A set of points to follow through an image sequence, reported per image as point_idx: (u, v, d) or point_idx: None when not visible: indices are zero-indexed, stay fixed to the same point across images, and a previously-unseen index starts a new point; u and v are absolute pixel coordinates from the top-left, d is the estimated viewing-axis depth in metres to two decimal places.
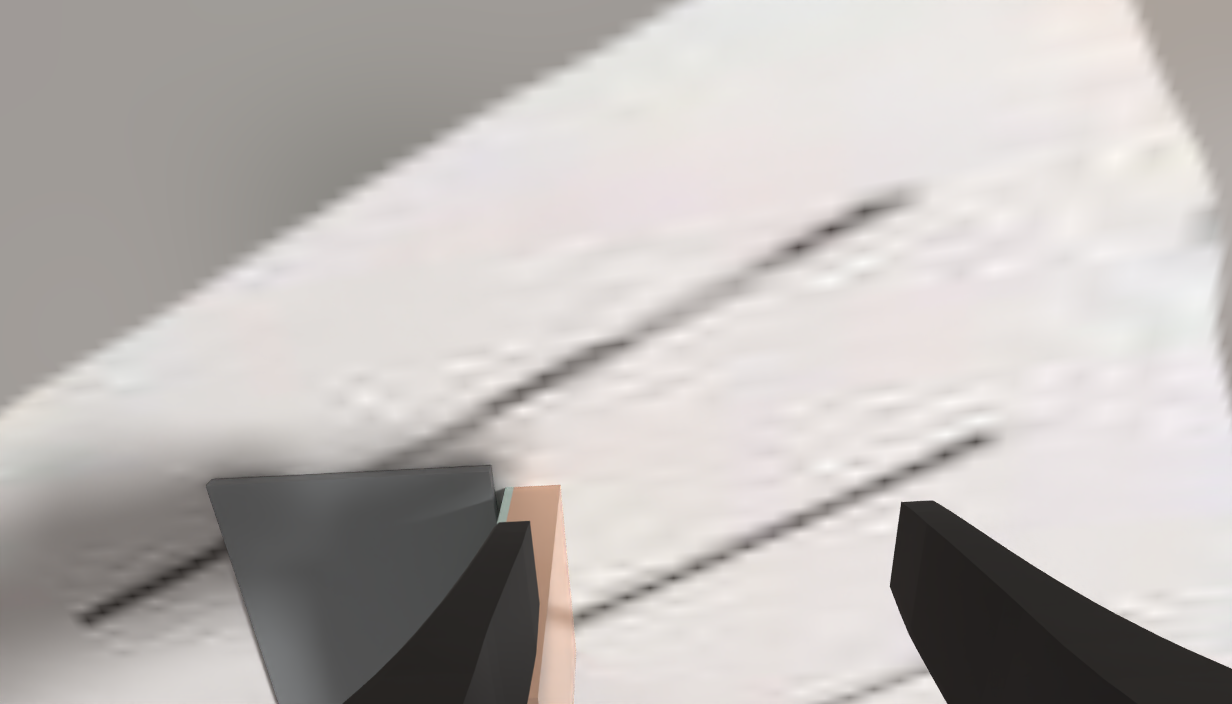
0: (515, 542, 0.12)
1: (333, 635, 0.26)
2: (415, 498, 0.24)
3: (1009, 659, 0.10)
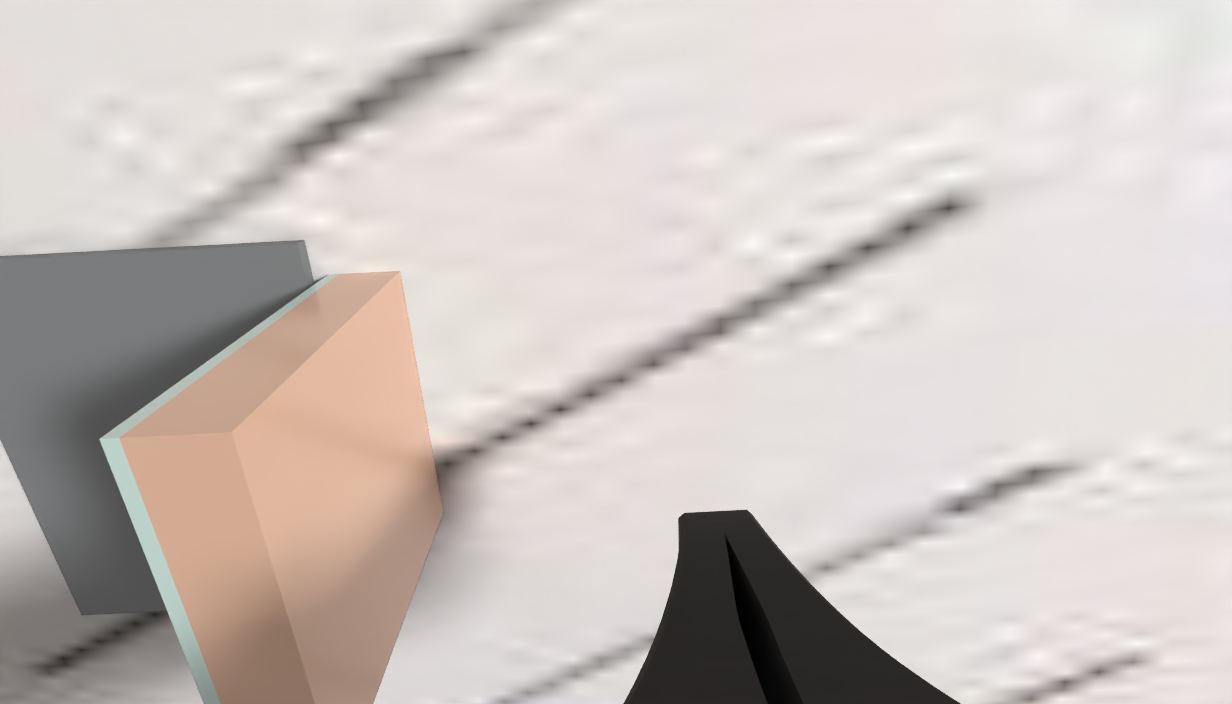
0: (716, 532, 0.12)
1: None
2: (203, 284, 0.18)
3: (765, 671, 0.10)
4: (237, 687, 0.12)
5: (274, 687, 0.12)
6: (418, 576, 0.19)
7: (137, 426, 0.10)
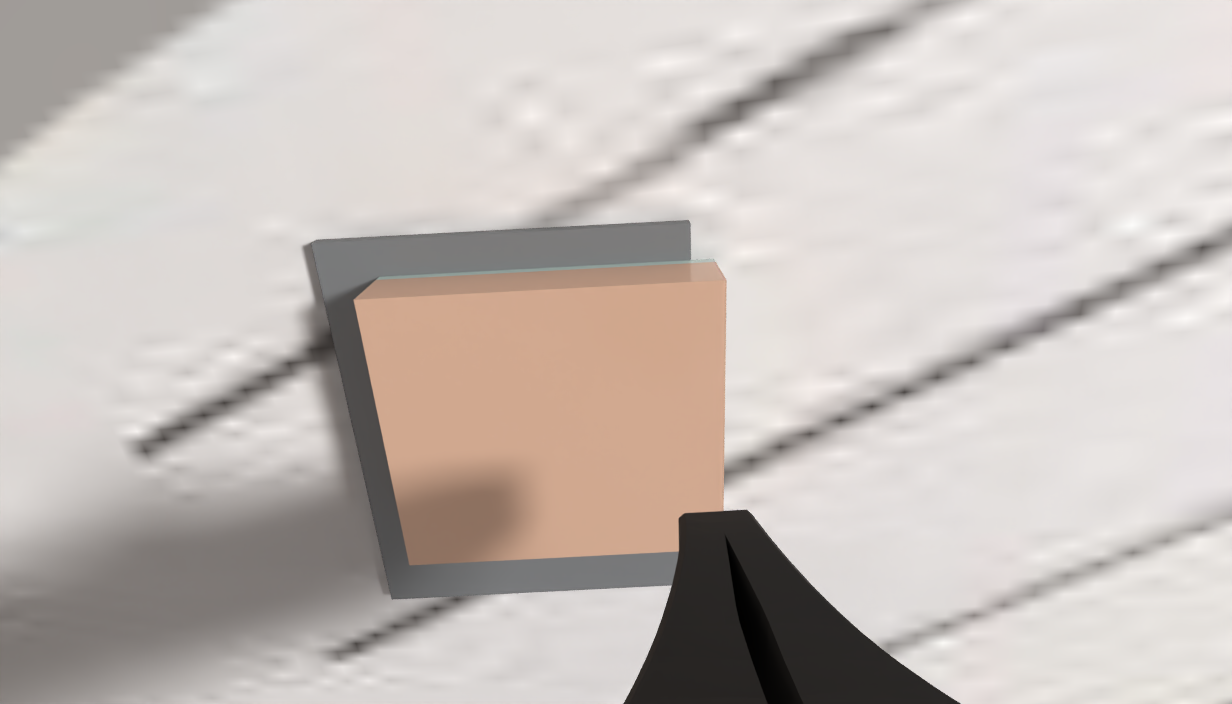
0: (716, 532, 0.12)
1: None
2: (588, 264, 0.18)
3: (765, 671, 0.10)
4: None
5: None
6: (616, 552, 0.19)
7: (388, 279, 0.18)
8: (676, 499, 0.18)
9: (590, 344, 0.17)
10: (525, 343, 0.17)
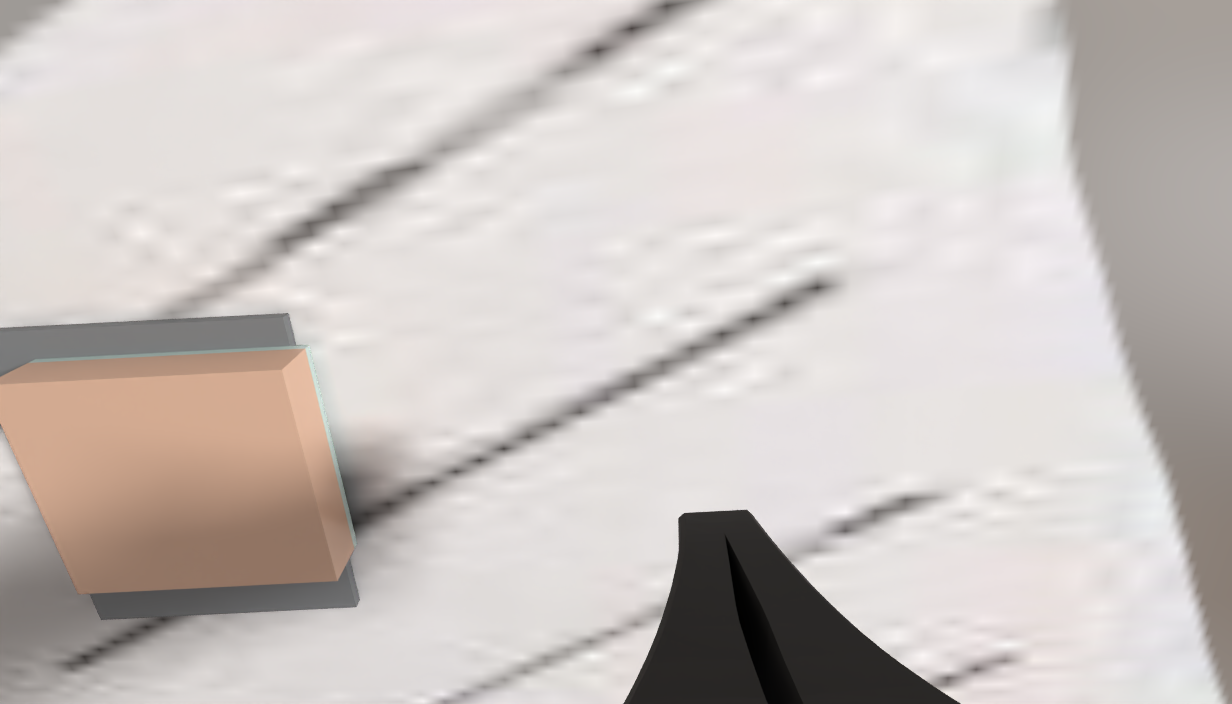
0: (716, 532, 0.12)
1: None
2: (206, 349, 0.22)
3: (765, 671, 0.10)
4: None
5: None
6: (249, 583, 0.23)
7: (37, 362, 0.22)
8: (287, 541, 0.22)
9: (184, 419, 0.21)
10: (131, 418, 0.21)
